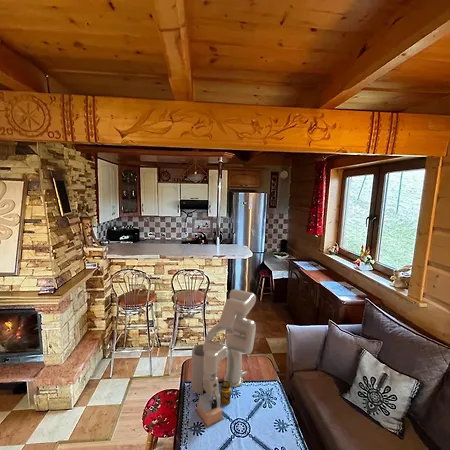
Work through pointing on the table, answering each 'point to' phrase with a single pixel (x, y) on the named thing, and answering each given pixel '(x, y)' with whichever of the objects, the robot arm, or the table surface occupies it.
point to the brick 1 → (207, 402)
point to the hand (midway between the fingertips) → (209, 401)
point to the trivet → (204, 421)
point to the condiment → (225, 393)
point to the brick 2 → (210, 415)
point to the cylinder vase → (197, 368)
